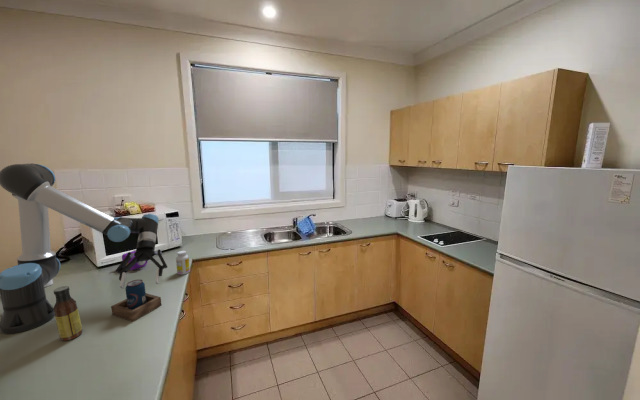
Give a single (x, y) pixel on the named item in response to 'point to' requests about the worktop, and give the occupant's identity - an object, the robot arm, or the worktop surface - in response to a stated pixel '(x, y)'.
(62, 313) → the sauce bottle
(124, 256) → the toy camera
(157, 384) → the worktop surface
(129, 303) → the soda can
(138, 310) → the brown wooden shallow tray
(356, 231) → the worktop surface
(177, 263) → the supplement bottle
